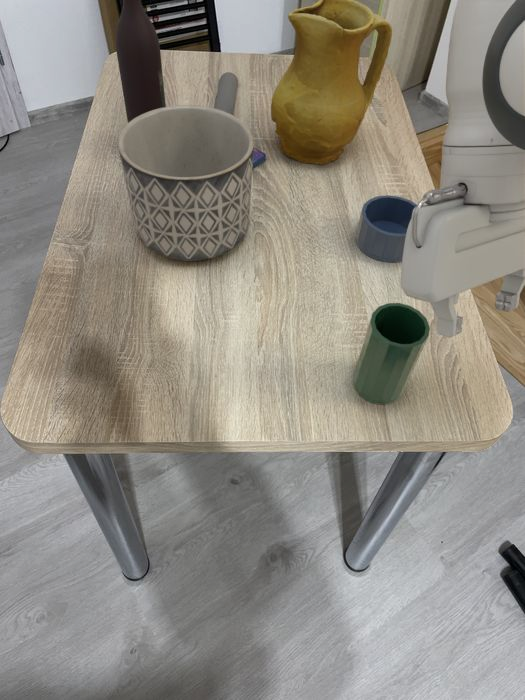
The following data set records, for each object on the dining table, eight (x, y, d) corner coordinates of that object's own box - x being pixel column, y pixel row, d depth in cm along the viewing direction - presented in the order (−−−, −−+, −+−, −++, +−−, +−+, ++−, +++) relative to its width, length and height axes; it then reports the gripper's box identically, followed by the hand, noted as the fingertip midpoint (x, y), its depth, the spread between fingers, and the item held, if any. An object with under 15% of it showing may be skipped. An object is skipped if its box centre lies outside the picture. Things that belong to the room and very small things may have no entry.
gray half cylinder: (238, 80, 122) (238, 72, 121) (231, 126, 110) (231, 117, 109) (219, 79, 122) (219, 71, 121) (211, 124, 110) (210, 116, 109)
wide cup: (420, 230, 92) (430, 203, 88) (412, 269, 86) (421, 242, 82) (362, 216, 94) (368, 189, 89) (349, 253, 88) (355, 226, 83)
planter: (199, 182, 98) (194, 92, 85) (274, 233, 90) (281, 143, 77) (110, 227, 89) (90, 134, 76) (185, 289, 81) (177, 197, 68)
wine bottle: (174, 161, 102) (156, -24, 78) (136, 166, 100) (107, -21, 76) (165, 141, 106) (146, -40, 82) (129, 146, 104) (99, -38, 80)
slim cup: (407, 370, 73) (432, 311, 64) (399, 410, 69) (425, 354, 60) (358, 357, 75) (376, 296, 65) (347, 395, 70) (365, 337, 61)
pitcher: (279, 114, 113) (295, -21, 93) (365, 135, 111) (402, 2, 91) (256, 161, 103) (269, 20, 83) (351, 185, 101) (388, 47, 81)
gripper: (448, 196, 40) (438, 362, 46) (585, 164, 51) (563, 303, 56) (385, 191, 45) (382, 342, 51) (522, 162, 56) (507, 290, 61)
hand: (478, 321), depth 54 cm, fingers open, 8 cm apart
